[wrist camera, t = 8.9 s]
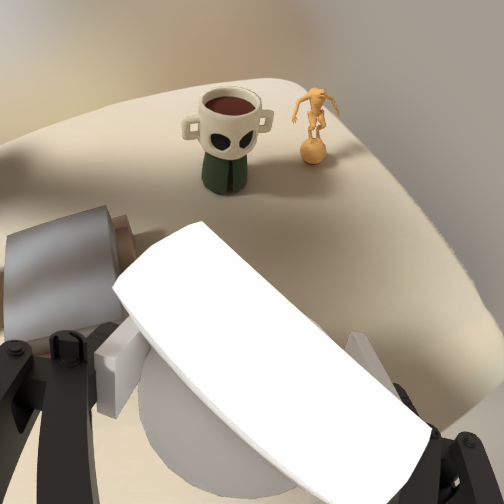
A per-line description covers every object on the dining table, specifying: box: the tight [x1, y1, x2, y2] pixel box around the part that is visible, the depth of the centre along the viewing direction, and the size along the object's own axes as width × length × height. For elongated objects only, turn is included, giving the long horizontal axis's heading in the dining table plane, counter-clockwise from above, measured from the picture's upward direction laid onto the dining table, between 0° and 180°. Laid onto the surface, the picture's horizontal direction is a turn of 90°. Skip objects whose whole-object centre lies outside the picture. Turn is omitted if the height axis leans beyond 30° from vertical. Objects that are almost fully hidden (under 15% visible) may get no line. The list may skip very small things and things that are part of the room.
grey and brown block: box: [3, 205, 137, 358], centre depth 28 cm, size 15×15×8 cm
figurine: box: [292, 87, 339, 164], centre depth 43 cm, size 8×6×12 cm
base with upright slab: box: [112, 221, 432, 504], centre depth 12 cm, size 9×9×12 cm
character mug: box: [182, 86, 274, 194], centre depth 37 cm, size 11×7×13 cm, turn 105°
